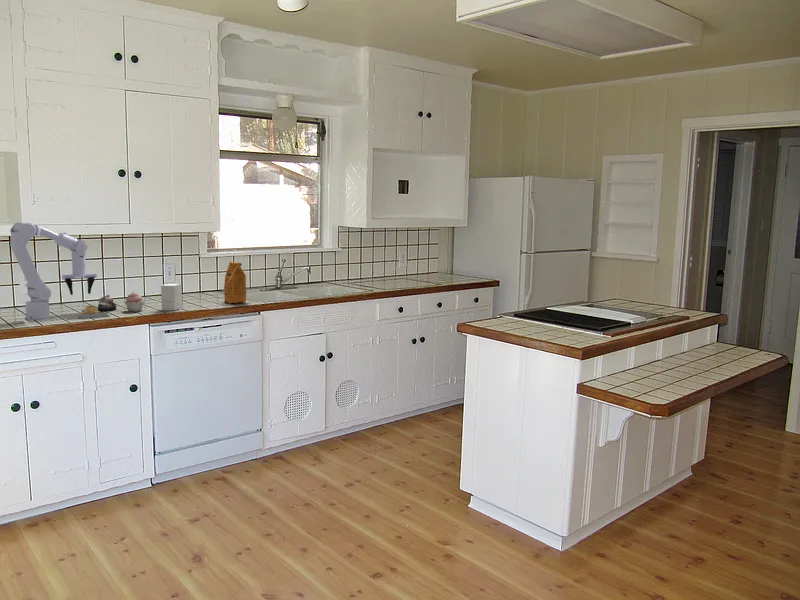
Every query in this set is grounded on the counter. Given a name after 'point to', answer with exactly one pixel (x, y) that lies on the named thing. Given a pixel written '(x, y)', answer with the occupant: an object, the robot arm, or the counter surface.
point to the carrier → (85, 315)
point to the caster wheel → (106, 304)
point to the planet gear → (90, 310)
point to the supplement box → (171, 296)
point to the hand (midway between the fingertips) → (80, 294)
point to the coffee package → (235, 284)
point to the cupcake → (134, 302)
